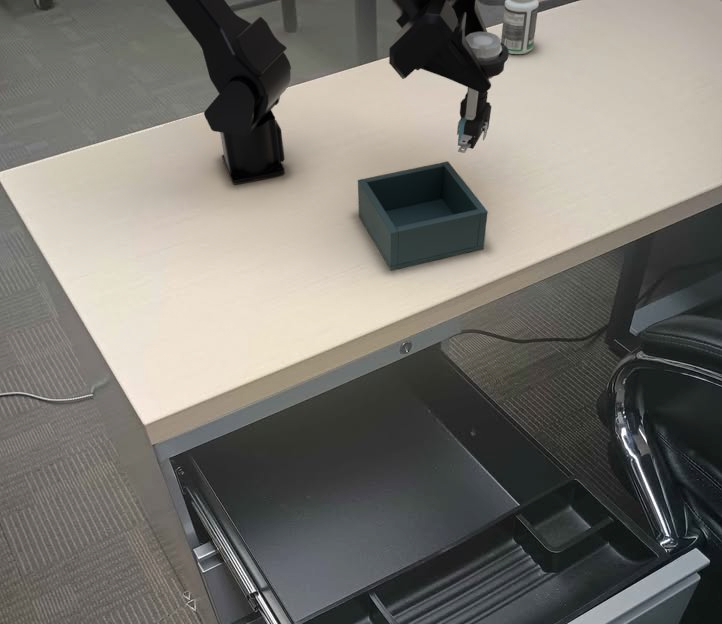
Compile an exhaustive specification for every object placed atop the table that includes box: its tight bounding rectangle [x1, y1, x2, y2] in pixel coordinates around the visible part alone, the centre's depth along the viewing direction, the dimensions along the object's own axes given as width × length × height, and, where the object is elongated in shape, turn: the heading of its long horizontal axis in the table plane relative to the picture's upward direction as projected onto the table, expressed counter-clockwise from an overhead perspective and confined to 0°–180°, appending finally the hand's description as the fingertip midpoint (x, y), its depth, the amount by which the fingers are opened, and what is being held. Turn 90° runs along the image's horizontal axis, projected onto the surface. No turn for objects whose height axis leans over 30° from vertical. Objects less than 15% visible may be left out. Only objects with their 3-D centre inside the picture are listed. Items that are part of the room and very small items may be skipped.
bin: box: [357, 160, 489, 271], centre depth 82 cm, size 11×11×4 cm
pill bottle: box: [500, 0, 540, 55], centre depth 109 cm, size 5×5×8 cm
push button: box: [456, 31, 510, 154], centre depth 78 cm, size 7×5×10 cm
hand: (491, 77), depth 77 cm, fingers closed on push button, 5 cm apart
